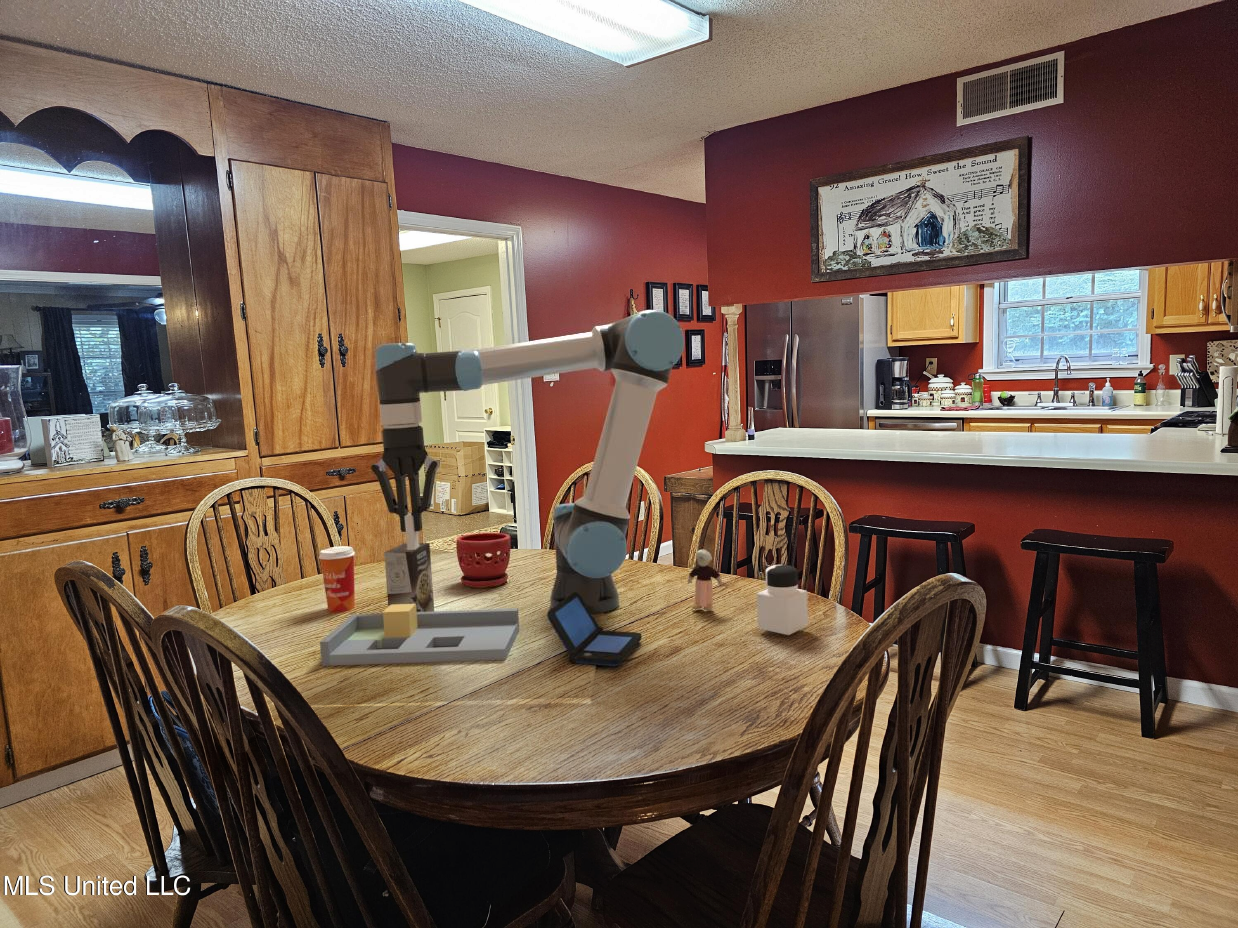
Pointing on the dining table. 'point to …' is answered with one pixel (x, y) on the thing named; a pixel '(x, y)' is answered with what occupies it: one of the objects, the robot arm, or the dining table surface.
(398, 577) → the coffee box
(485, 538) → the plant pot
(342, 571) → the paper cup
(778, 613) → the medicine bottle
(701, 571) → the grandmother figurine
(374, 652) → the trap deck
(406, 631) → the block
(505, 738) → the dining table surface
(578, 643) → the handheld game console
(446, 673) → the dining table surface
